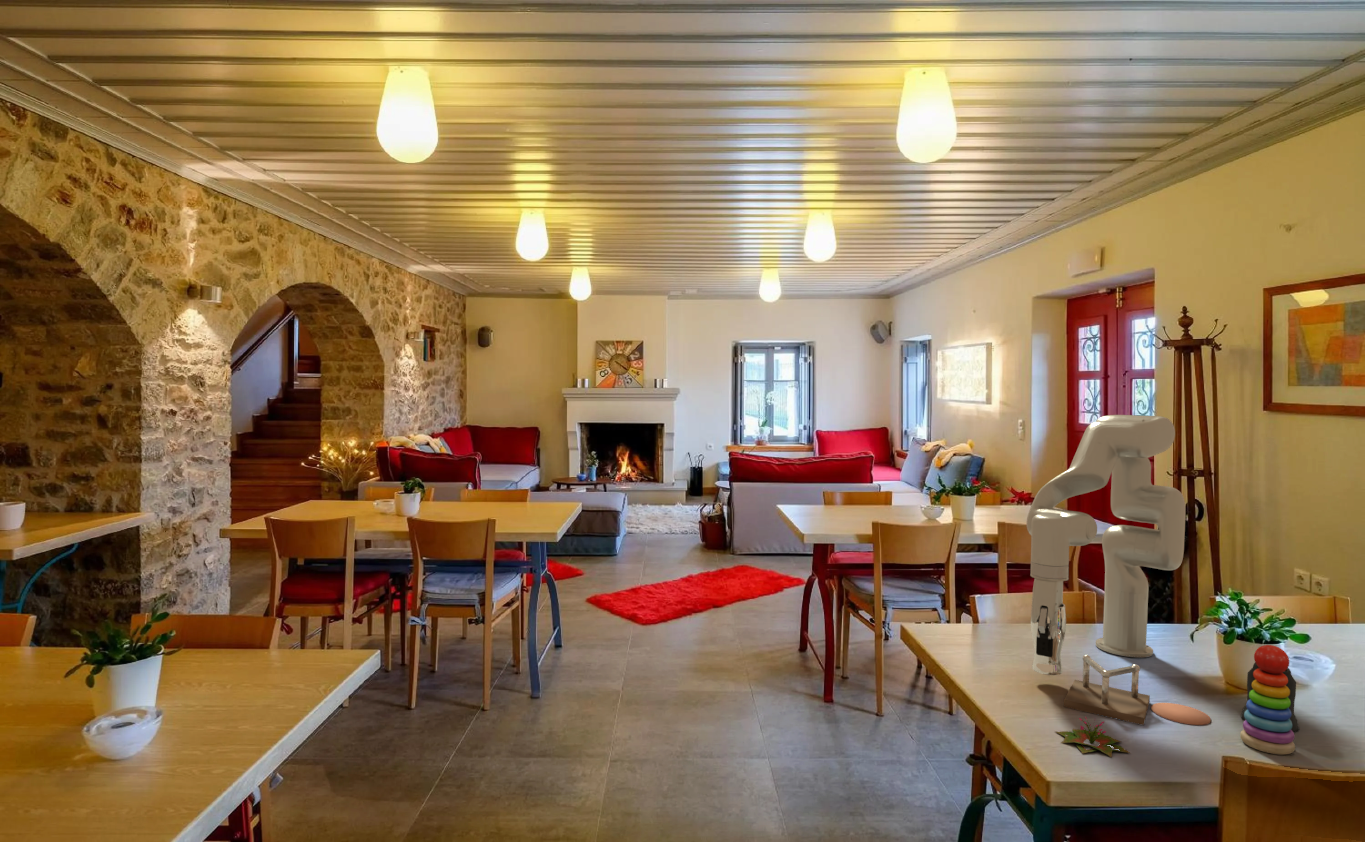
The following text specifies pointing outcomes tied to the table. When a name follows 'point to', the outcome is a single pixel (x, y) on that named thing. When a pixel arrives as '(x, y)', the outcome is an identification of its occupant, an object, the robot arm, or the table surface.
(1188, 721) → the pad
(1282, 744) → the stacking toy
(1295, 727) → the mug
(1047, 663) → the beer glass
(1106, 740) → the lily flower
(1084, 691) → the board
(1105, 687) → the bent wire
